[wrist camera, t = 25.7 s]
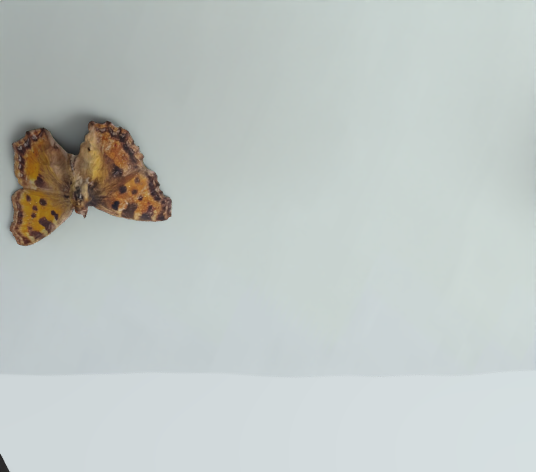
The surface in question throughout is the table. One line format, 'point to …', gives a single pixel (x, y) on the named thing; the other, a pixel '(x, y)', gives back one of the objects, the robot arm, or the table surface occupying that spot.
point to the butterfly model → (82, 181)
